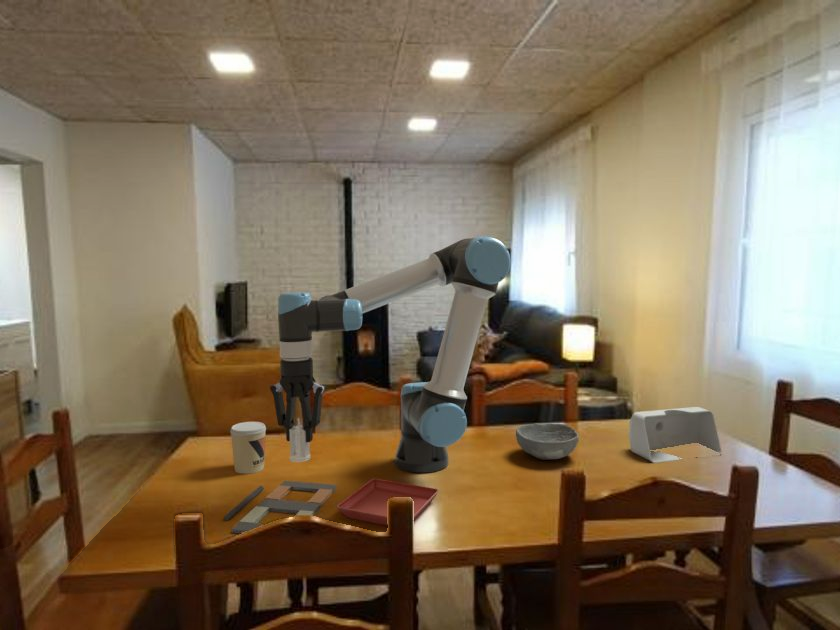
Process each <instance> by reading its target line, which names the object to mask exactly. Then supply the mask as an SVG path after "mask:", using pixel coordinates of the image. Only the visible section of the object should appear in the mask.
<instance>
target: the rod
mask: <svg viewBox="0 0 840 630" xmlns="http://www.w3.org/2000/svg"><path fill="white" fill-rule="evenodd" d="M263 490H264V486H263V485H259V486H258V487H257V488H256V489H254V490H253V491H252V492H251V493H250V494H248V495H247V496H246V497H245V498H244V499H243V500H241V501H240V502H239V503H238V504H237V505H235V507H233V508H232V509H231V510H230V511H229V512H227V513H226V514H225V515H224V516H223V519H224V520H225V521H228V520H230V519H231V518H232V517H233V516H234V515H236V514H237V513H238V512H239V511H240V510H241V509H243V507H245V506H246V505H248V504H249V502H251V501H252V500H253V499H254V498H255V497H256V496H258V495H259V494H260V493H261V492H262V491H263Z"/></svg>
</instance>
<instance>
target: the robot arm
mask: <svg viewBox="0 0 840 630" xmlns="http://www.w3.org/2000/svg"><path fill="white" fill-rule="evenodd" d="M511 261H512V260H511V255H510V252H509V250H508V248H507V247H506V245H505V244H504V242H502V241H501V240H499V239H497V238H494V237H491V236H485V235H483V236H477V237H472V238H471V237H470V238H464V239H463V238H462V239H459V240H458V241H456V242H454V243H452V244H450V245H448V246H446V247H444V248H441V249H439V250H436V251H434V252H431V253H430V254H429V257H428V258H426V259H424V260H421V261H418V262H416V263H413V264H411V265H408V266H405V267H402V268H400V269H397V270H395V271H391V272H390V273H386V274H384V275H382V276H381V275H380V276H378V277H376V278H373V279H371V280H367V281H365V282H363V283H362V282H361V283H360V284H357V285H354V286H352V287H350V288H347V289H344V290H341V291H339V292H336V293H334V294H329V295H323V296H322V297H321V298H319V299H318V300H314V299H312V297H311V293H309V292H305V291H304V292H303V291H302V292H301V291H300V292H296V291H295V292H283V293H281V294H280V295H279V296H278V297H277V317H278V321H277V322H278V335H279V336H278V338H279V357H280V358H281V359H280V361H279V365H280V379H279V382H278V383H275V384H273V385H271V386H270V387H269V390H270V393H271V394H272V396H273V402H274V407H275V414H276V419H277V420H276V421H277V425H278V426H279V427H284V428H285V434H286V435H285V437H286V442H289V451H290V453H289V454H290V455H289V457H290V456H294V455H295V452H296V449H297V438H296V437H295V435H296V434H297V432H296V429H295V426H296V425H295V424H296V422H295V415H296V414H295V413H296V401H297V400H296V399H297V398H298V401H299V402H300V406H301V407H300V408H301V413H302V421H303V429H302V430H301V432H302V433H301V434H302V437H301V439H302V457H306V456H307V455H308V454H311V450H310V449H311V447H310V443H311V442H312V441H313V437H314V436H313V428H317V426H319V424H320V423H321V415H322V414H321V413H322V402H323V394H324V393H325V390H326V385H324V384H322V385H320V384H319V383H317V382H316V379H315V378H314V363H313V362H314V359H313V357H312V356H313V333H318V332H342V331H344V332H349V331H356V330H359V329H361V327H362V325H363V314H365V313H368V312H370V311H372V310H376V309H378V308H380V307H384V306H385V305H388V304H390V303H393V302H396V301H399V300H400V299H403V298H404V299H405V298H407V297H409V296H412V295H414V294H416V293H420V292H423V291H424V290H427V289H430V288H432V287H434V286H437V285H439V286H441V287H445V286H447V285H450V284H451V285H452V287H453V289H454V295H453V298H452V302H451V307H450V311H449V314H448V317H447V320H446V325H445V329H444V332H443V335H442V339H441V343H440V347H439V350H438V354H437V357H436V361H435V364H434V369H433V372H432V376H431V380H430V381H427V382H426V381H424V382H423V381H421V382H411V383H406V384H403V385H402V386H401V392H400V403H401V405H400V411H401V413H400V417H401V421H400V424H401V425H400V427H401V428H400V429H401V430H400V431H401V432H400V433H401V437H400V440H399V442H398V446H397V448H396V452H395V456H394V457H395V458H394V461H395V463H394V464H395V466H396V467H397V468H399V469H401V470H403V471H407V472H412V473H431V472H433V473H434V472H438V471H441V470H444V469H445V468H447V467H448V466H449V463H450V462H449V458H450V457H449V452H448V450H447V447H449V446H452V445H453V444H455V443H457V442H458V441H460V439H462V437H463V436H464V434H465V432H466V430H467V425H468V421H467V420H468V419H467V416H466V412H465V411H464V410H465V406H466V404H467V403H466V402H467V400H468V396H467V395H466V393H465V391H464V387H465V384H466V379H467V376H468V374H469V373H468V372H469V369H470V366H471V363H472V358H473V354H474V351H475V349H476V344H477V341H478V337H479V332H480V328H481V325H482V322H483V317H484V314H485V312H486V311H485V310H486V307H487V304H488V300H489V299H490V298H492V297H494V296H496V294H497V290H498V287H499V283H500V282H502V281H503V280H504V279H505V278H507V276H508V273H510V269H511V265H512V264H511ZM312 389H313V393H314V394H313V401H312V402H313V403H312V404H313V405H312V409H311V402H310V399H311V397H310V392H311V391H312ZM283 391H284V392H285V393H286V398H285V400H284V394H283ZM284 401H286V407H285V402H284Z"/></svg>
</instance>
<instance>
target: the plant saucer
mask: <svg viewBox="0 0 840 630" xmlns="http://www.w3.org/2000/svg"><path fill="white" fill-rule="evenodd" d="M439 491H440V490H439V489H438V488H434V487H429V486H423V485H417V484H409V483H404V482H398V481H392V480H386V479H381V478H371V479H370V480H369V481H367V482H366V483H364V484H363V485H362V486H360V487H359V488H358V489H357V490H356V491H354V492H352V493H351V494H350V495H349V496H348V497H346V498H345V499H344V500H342V501H341V502H340V503H338V504H337V506H336V508H337V509H338V510H339V511H340V512H341V513H342V514H343V515H345V516H346V517H348V518H350V519H355V520H360V521H365V522H368V523H374V524H378V525H385V526H388V525H387V501H388V499H390V498H393V497H411V498H412V499H413V501H414V520H416V518H418V516H419V515H420V514H421V513H422V512H423V511H424V510H425V509H426V508H427V506H428V505H429V504H431V503H432V502H433V500H434V499H435V497H436V496H437V495H438V493H439Z"/></svg>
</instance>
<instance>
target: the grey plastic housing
mask: <svg viewBox="0 0 840 630" xmlns="http://www.w3.org/2000/svg"><path fill="white" fill-rule="evenodd" d="M628 425H629V426H628V427H629V429H628V439H629V444H630V445H629V446H630V451H631V452H632V453H633V454H636V455H637V456H639V457H641V458H643V459H645V460H648V461H650V462H651V463H653V464H659V463H666V462H667V463H668V462H674V461H675V460H677V461H681V460H680V459H682V458H680V457H679V458H680V459H679V458H678V457H677V456H674V455H670V454H666V453H665V452H663V453H660V451H657V452H654V451H650V450H656V449H662V448H667V447H674V446H679V445H685V444H691V443H699V444H701V445H703V446H706V447H707V448H710V449H712V450H714V451H716V452H719V453H721V454H722V446H721V442H720V436H719V433H718V428H717V423H716V418H715V414H714V413H713V411H711V410H708V409H705V408H703V407H701V406H700V407H699V406H691V407H681V408H678V407H677V408H667V409H656V410H655V409H654V410H645V411H642V410H641V411H635V412H634V413H632V416H631V418H630V419H629V424H628ZM650 452H651V453H650Z"/></svg>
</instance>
